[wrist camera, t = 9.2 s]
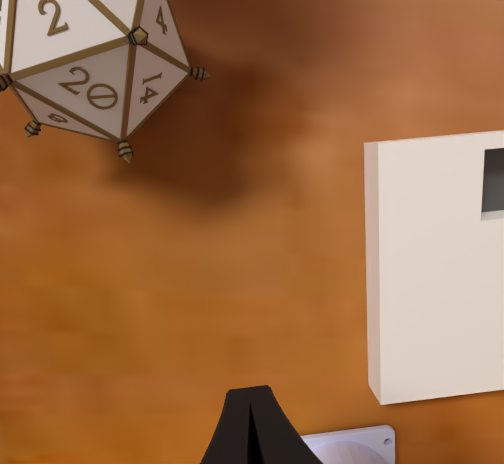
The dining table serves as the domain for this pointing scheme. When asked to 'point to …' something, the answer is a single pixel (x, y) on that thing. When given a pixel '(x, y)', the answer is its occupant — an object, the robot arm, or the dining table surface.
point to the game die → (92, 63)
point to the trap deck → (435, 266)
